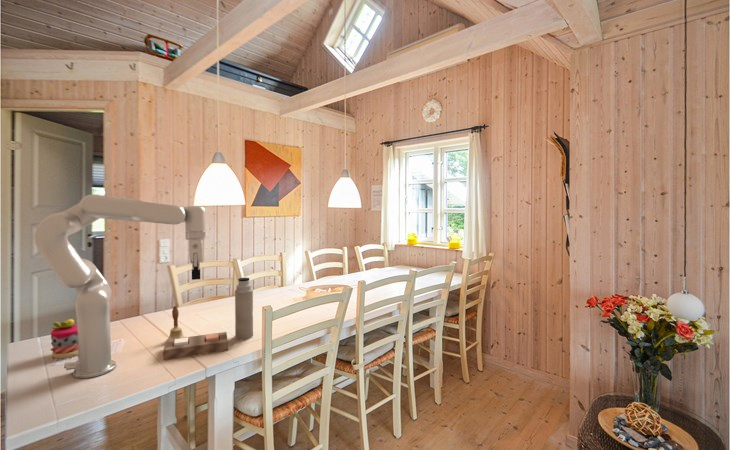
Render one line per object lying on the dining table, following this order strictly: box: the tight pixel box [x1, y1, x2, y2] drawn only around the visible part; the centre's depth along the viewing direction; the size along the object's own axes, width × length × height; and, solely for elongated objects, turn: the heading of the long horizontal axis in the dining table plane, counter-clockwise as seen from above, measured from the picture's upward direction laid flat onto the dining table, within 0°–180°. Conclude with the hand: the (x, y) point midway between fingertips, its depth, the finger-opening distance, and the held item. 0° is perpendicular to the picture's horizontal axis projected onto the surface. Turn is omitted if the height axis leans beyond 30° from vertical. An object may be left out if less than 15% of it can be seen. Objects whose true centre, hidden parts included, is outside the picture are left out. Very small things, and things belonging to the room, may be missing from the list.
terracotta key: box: [205, 333, 219, 342], centre depth 150 cm, size 5×5×3 cm
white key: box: [174, 336, 189, 346], centre depth 145 cm, size 5×5×3 cm
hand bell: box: [166, 305, 186, 340], centre depth 157 cm, size 8×8×16 cm
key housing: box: [162, 331, 229, 361], centre depth 148 cm, size 24×12×4 cm, turn 115°
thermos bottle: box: [234, 277, 254, 340], centre depth 163 cm, size 8×8×28 cm
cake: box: [50, 318, 78, 360], centre depth 141 cm, size 10×10×15 cm
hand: (196, 279), depth 144 cm, fingers closed
